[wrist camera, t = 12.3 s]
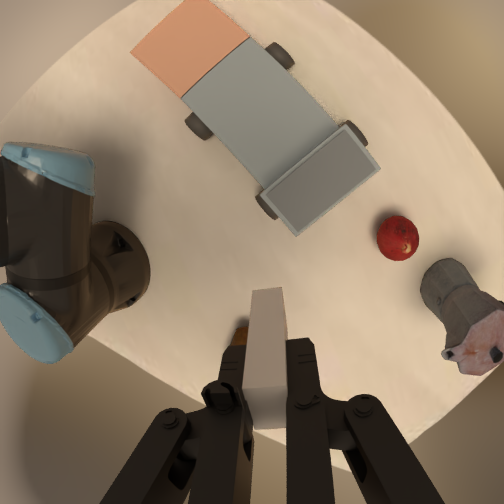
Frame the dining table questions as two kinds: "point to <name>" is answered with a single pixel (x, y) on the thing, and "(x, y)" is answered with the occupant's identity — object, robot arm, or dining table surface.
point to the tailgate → (189, 44)
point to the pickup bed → (279, 134)
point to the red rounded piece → (397, 238)
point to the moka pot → (465, 317)
